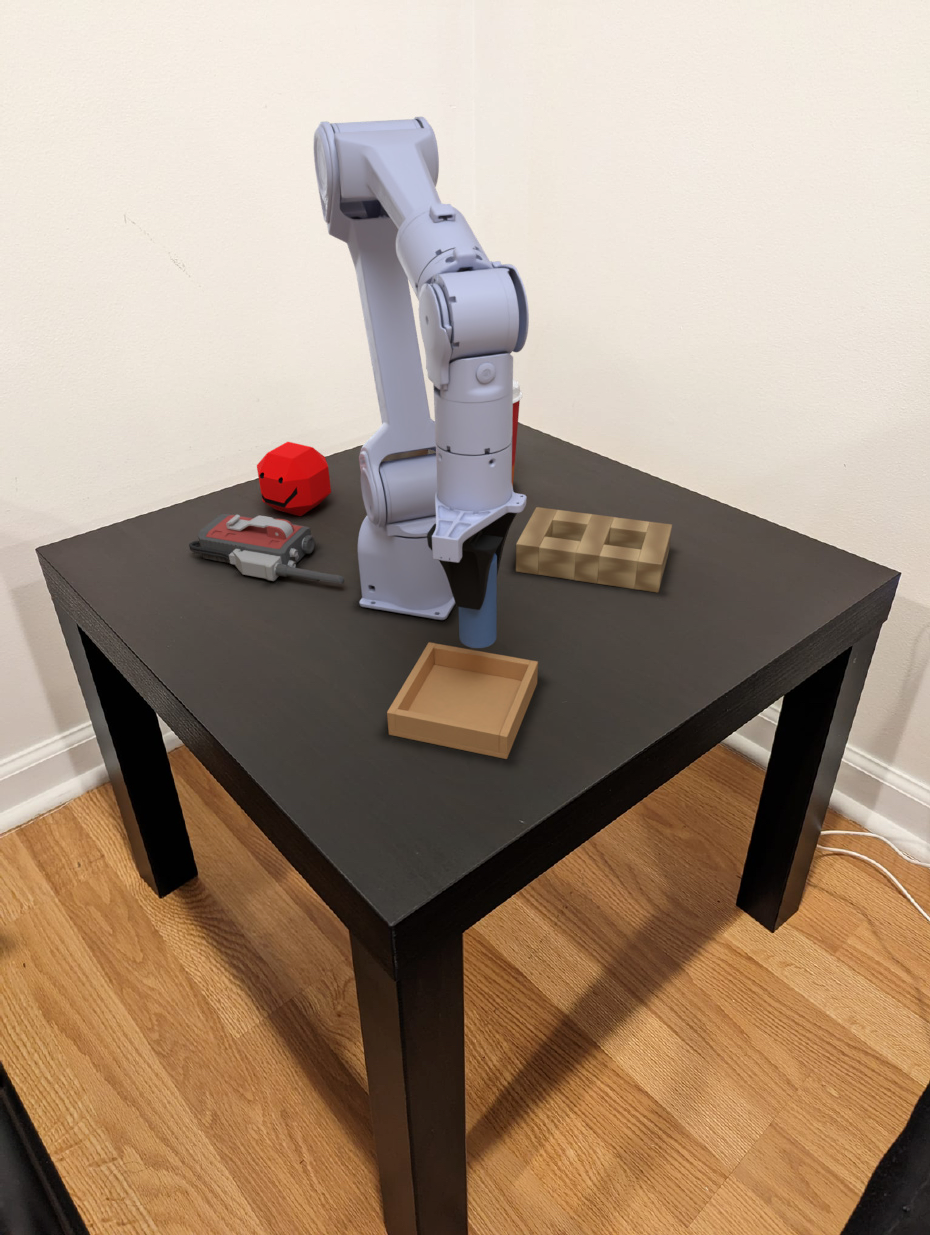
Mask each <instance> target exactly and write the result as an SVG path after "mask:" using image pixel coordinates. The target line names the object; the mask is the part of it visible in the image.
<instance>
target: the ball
mask: <svg viewBox="0 0 930 1235" xmlns="http://www.w3.org/2000/svg"><path fill="white" fill-rule="evenodd" d="M256 471H257V476H258V483H259V487H260V488H259V489H260V494H261V500H262V502H263V503H264V504H266V505H268V506H269V507H271V508H272V509H274V510H276V511H278V512H282V513H286V514H289V515H293V516H297V517H302V516H304V515H305V514H306V513H308V512H310V511H311V510H313V509H314V508H316V507H317V506H318V505H320V504H321V503H322V502H323V501H324V500H326V498H327V497H329V495H330V494H331V493H332V487H331V480H330V478H331V477H330V471H329V465H328V462H327V458H326V456H324V455H323V454H322V453H320V452H319V450H317V449H316V448H314V447H313V446H309V445H304V444H300V443H296V442H292V441H286V442H284V443H283V444H280V445H278V446H276V447H274V448H273V449H271V450H269V451H268V452H266V454H265V455H264V456H263V457H262V458H261V460H260V461H259V462H258V463H257V464H256Z"/></svg>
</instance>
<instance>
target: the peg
mask: <svg viewBox="0 0 930 1235" xmlns="http://www.w3.org/2000/svg"><path fill="white" fill-rule="evenodd" d="M497 609H498V574H497V556H496V554H494V556H493V559H492V562H491V566H490V570H489V575H488V582H487V589H486V595H485V599H484V602H483V605H482V607H481V609H480V610H475V609H469V608H463V607H458V634H459V636H458V637H459V638H458V639H459V641H460V642H461V644H463V645H464V646H466V647H469V648H472V649H485V648H488V647H490V646H492V645H493V644H494V643H495V642H496V641H497V638H498V636H497V634H498V633H497V626H498V625H497V624H498V622H497V621H498V618H497V617H498V610H497Z"/></svg>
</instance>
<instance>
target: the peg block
mask: <svg viewBox="0 0 930 1235" xmlns="http://www.w3.org/2000/svg"><path fill="white" fill-rule="evenodd" d="M672 530H673V524H672V523H671V524H670V523H664V522H656V521H647V520H640V519H639V520H638V519H632V518H631V519H630V518H623V517H616V516H609V515H601V514H594V513H593V514H592V513H587V512H586V513H584V512H577V511H571V510H562V509H555V508H547V507H539V506H536V507H535V509H534V510H533V512H532V514H531V516H530V518H529V520H528V522H527V524H526V525H525V527H524V529H523V531H522V532H521V535H520V536H519V538H518V540H517V541H516V544H515V572H517V573H523V574H524V573H525V574H530V575H536V576H537V575H538V576H545V577H551V578H557V579H564V580H571V581H576V582H583V583H589V584H590V583H592V584H598V585H605V586H612V587H617V588H624V589H630V590H631V589H632V590H637V591H643V592H644V591H645V592H651V593H657V594H658V593H659V592H660V588H661V585H662V581H663V577H664V572H665V568H666V564H667V560H668V557H669V553H670V545H671V544H670V543H671V538H672V532H673V531H672Z"/></svg>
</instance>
